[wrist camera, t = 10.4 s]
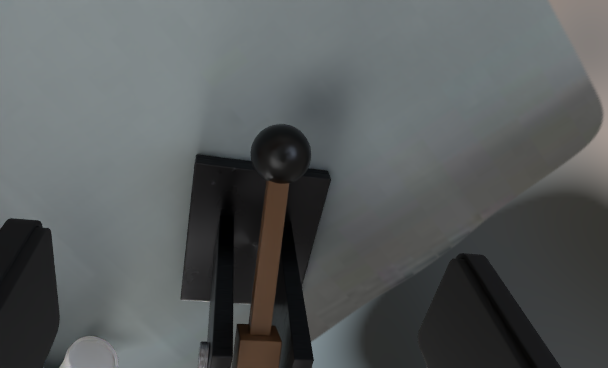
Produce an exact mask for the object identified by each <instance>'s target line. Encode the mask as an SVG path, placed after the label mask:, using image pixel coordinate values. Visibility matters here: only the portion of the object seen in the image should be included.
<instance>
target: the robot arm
mask: <svg viewBox="0 0 608 368" xmlns="http://www.w3.org/2000/svg"><path fill="white" fill-rule="evenodd" d="M59 320H60V315H59V305H58V295H57V285H56V275H55V265H54V255H53V245H52V236H51V230H50V229H49V228H43V227H42V224H41V222H40V221H38V220H25V219H12V218H11V219H8V220H7V221H6V222H5V223H4V225H3V226H2V228H1V229H0V368H43V366H44V363H45V361H46V359H47V356H48V354H49V351H50V349H51V346H52V344H53V342H54V339H55V337H56V334H57V331H58V327H59ZM418 344H419V347H420V350H421V352H422V355H423V357H424V360H425V362H426V365H427V367H428V368H561V367H560V365H559V364H558V362H557V361H556V360H555V358H554V357H553V355H552V354H551V352H550V351H549V349H548V348H547V346H546V345H545V343H544V342H543V340H542V339H541V337H540V336H539V335H538V333H537V331H536V330H535V329H534V327H533V326H532V324H531V323H530V321H529V320H528V319H527V317H526V315H525V314H524V312H523V311H522V310H521V308H520V307H519V305H518V304H517V302H516V301H515V299H514V298H513V296H512V295H511V294H510V292H509V290H508V289H507V287H506V286H505V284H504V283H503V282H502V280H501V279H500V277H499V276H498V274H497V273H496V271H495V270H494V268H493V267H492V265H491V264H490V262H489V261H488V259H487V258H486V257H485V256H483V255H477V254H464V253H462V254H459V255H458V256H457V257H456V259H452V260H451V261H450V263H449V265H448V267H447V269H446V271H445V274H444V276H443V278H442V280H441V282H440V285H439V287H438V289H437V291H436V294H435V296H434V298H433V301H432V303H431V305H430V307H429V309H428V312H427V314H426V316H425V318H424V320H423V323H422V325H421V327H420V330H419V332H418Z"/></svg>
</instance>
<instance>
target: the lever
mask: <svg viewBox="0 0 608 368" xmlns="http://www.w3.org/2000/svg"><path fill="white" fill-rule="evenodd" d="M251 161H252V165H253V167H254V169H255V171H256V172H257V174H258V175H259V176H260V177H261V178H263V179H264V180H265V181H266V187H265V195H264V204H263V212H262V220H261V228H260V236H259V244H258V252H257V260H256V268H255V276H254V284H253V293H252V301H251V309H250V317H249V324H237V329H236V337H235V345H234V353H233V361H232V368H279V364H280V356H281V348H282V341H281V338H280V336H279V333H278V331H277V328H276V326H271V325H272V317H273V309H274V301H275V293H276V285H277V277H278V269H279V261H280V253H281V245H282V237H283V229H284V221H285V213H286V205H287V197H288V190H289V184H290V183H293V182H295V181H297V180H298V179H300V178H301V177H302V176H303V175H304V174H305V172H306V171H307V169H308V167H309V165H310V161H311V148H310V145H309V142H308V140H307V138H306V137H305V136H304V134H303V133H302V132H301V131H299V130H298V129H297V128H295V127H293V126H290V125H285V124H276V125H272V126H269V127H267V128H265V129H264V130H262V131H261V132H260V133H259V134H258V135H257V137H256V138H255V140H254V142H253V144H252V147H251Z"/></svg>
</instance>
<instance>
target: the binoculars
mask: <svg viewBox="0 0 608 368" xmlns="http://www.w3.org/2000/svg"><path fill="white" fill-rule="evenodd" d="M59 368H118V356H117V353H116V351H115V349H114V348H113V347H112V346H111V345H110V344H109V343H108V342H107V341H105V340H104V339H102V338H99V337H95V336H86V337H82V338H80V339H78V340H76V341H75V342H74V343H73V344H72V345H71V346H70V347H69V348H68V350H67V352H66V355H65V359H64V361H63V362H62V364H61V365H60V367H59Z"/></svg>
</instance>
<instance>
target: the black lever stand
mask: <svg viewBox="0 0 608 368" xmlns="http://www.w3.org/2000/svg"><path fill="white" fill-rule="evenodd" d="M330 181H331V178H330V175H329V172H328V171H324V170H316V169H307V171H306V172H305V174H304V175H303V176H302V177H301V178H300V179H298V180H297V181H295V182H293V183H290V184H289V190H288V197H287V205H286V213H285V221H284V229H283V237H282V245H281V253H280V261H279V269H278V277H277V285H276V293H275V301H274V309H273V317H272V326H276V328H277V331H278V333H279V336H280V338H281V341H282V348H281V356H280V364H279V368H312V364H313V361H314V359H313V353H312V347H311V340H310V334H309V328H308V322H307V316H306V310H305V304H304V298H303V291H302V283H303V280H304V276H305V272H306V269H307V265H308V261H309V258H310V254H311V250H312V247H313V243H314V239H315V236H316V232H317V229H318V225H319V221H320V218H321V214H322V210H323V207H324V203H325V199H326V196H327V192H328V188H329V185H330ZM265 187H266V181H265V180H264V179H263V178H261V177H260V176H259V175H258V174H257V172H256V171H255V169H254V167H253V165H252V161H244V160H236V159H228V158H220V157H212V156H204V155H196V159H195V165H194V175H193V185H192V194H191V204H190V213H189V223H188V232H187V242H186V251H185V261H184V270H183V280H182V289H181V300H190V301H206V302H210V310H209V324H208V339H207V342H201V343H200V348H199V357H198V368H231V363H232V358H233V303H238V304H251V301H252V293H253V284H254V276H255V268H256V260H257V252H258V244H259V236H260V228H261V220H262V212H263V204H264V195H265Z"/></svg>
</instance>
